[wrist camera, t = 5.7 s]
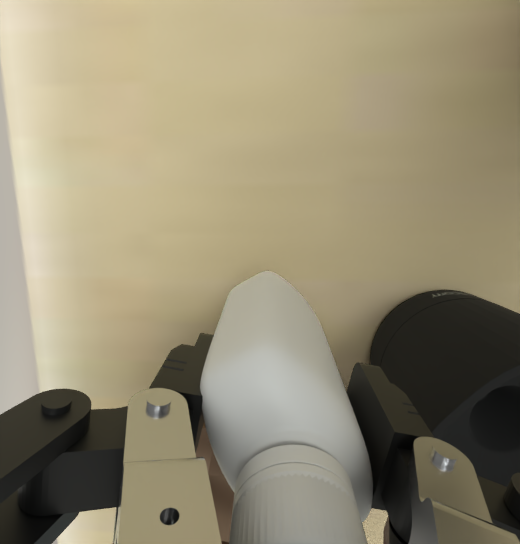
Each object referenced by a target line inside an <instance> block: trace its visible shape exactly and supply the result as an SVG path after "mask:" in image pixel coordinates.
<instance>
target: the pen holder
mask: <svg viewBox="0 0 520 544" xmlns="http://www.w3.org/2000/svg"><path fill="white" fill-rule="evenodd" d="M370 362H371V365H373V366H379V367H380V368H381V369H382V371H383V372H384V374H385V375H386V377H387V379H388V380H389V382H390V383H391V384H395V385H396V386H397V387H398V388H399V389H401V390H402V391H403V392H404V393H405V394H406V395H407V396H408V398H409V399H410V401H411V402H412V404H413V406H414V407H415V409H416V410H417V412H418V415H420V416H421V418H422V419H423V421H424V422H425V424H426V425H427V427H428V428H429V430H430V431H431V433H432V434H433V436H434V437H435V438H436V439H439V440H442V441H444V442H446V443H448V444H450V445H452V446H453V447H455V448H456V449H458V450H459V451H461V452H462V453H463V454H464V455H465V456H466V457H467V458H468V459H469V460H470V462H471V463H472V465H473V467H474V469H475V472H476V475H478V476H480V477H483V478H485V479H488V480H490V481H493V482H496V483H498V484H501V485H503V486H506V487H508V484H509V482H510V480H511V477H512V476H513V474H515V473H520V314H519V313H516V312H514V311H511V310H509V309H507V308H504V307H502V306H500V305H497V304H495V303H492V302H489V301H487V300H484V299H482V298H479V297H476V296H474V295H471V294H467V293H464V292H460V291H453V290H438V291H431V292H427V293H423V294H420V295H417V296H415V297H413V298H411V299H409V300H407V301H405V302H404V303H402V304H401V305H399V306H398V307H397V308H395V309H394V310H393V311H392V312H391V313H390V314H389V315H388V316H387V317H386V318H385V320H384V321H383V322H382V324H381V325H380V327H379V329H378V331H377V333H376V335H375V337H374V340H373V343H372V348H371V355H370Z"/></svg>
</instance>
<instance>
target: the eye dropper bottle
mask: <svg viewBox="0 0 520 544" xmlns="http://www.w3.org/2000/svg"><path fill="white" fill-rule="evenodd" d="M200 391H201V394H202V396H203V402H202V412H203V417H204V422H205V426H206V431H207V434H208V438H209V441H210V444H211V447H212V450H213V452H214V455H215V458H216V460H217V462H218V464H219V466H220V469H221V471H222V473H223V475H224V477H225V478H226V480H227V482H228V484H229V485H230V487H231V488H232V490H233V492H234V502H233V511H232V521H231V530H230V539H229V544H368V543H367V539H366V536H365V532H364V529H363V525H362V522H363V521H364V520H365V519H366V518H367V517H368V514H369V512H370V510H371V506H372V499H373V478H372V469H371V464H370V459H369V455H368V452H367V448H366V445H365V442H364V439H363V436H362V433H361V430H360V427H359V425H358V422H357V419H356V416H355V414H354V411H353V408H352V406H351V403H350V400H349V398H348V395H347V392H346V389H345V387H344V384H343V381H342V379H341V376H340V373H339V371H338V368H337V365H336V363H335V360H334V357H333V355H332V352H331V349H330V347H329V344H328V341H327V339H326V336H325V333H324V331H323V328H322V326H321V324H320V322H319V320H318V318H317V316H316V314H315V312H314V311H313V309H312V308H311V306H310V305H309V303H308V302H307V301H306V299H305V298H304V297H303V296H302V295H301V294H300V293H299V291H298V290H297V289H296V288H294V287H293V286H292V285H291V284H290V283H289V282H288V281H286V280H285V279H284V278H283V277H281V276H280V275H278V274H277V273H275V272H272V271H264V272H260V273H258V274H256V275H254V276H253V277H251V278H249V279H247V280H245V281H244V282H242V283H240V284H238V285H237V286H235V287H234V288H233V289H232V290H231V291H230V292H229V295H228V297H227V300H226V303H225V306H224V308H223V311H222V314H221V317H220V319H219V322H218V325H217V328H216V331H215V334H214V336H213V339H212V342H211V345H210V348H209V351H208V354H207V358H206V361H205V364H204V368H203V372H202V376H201V382H200Z"/></svg>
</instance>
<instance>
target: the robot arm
mask: <svg viewBox="0 0 520 544" xmlns="http://www.w3.org/2000/svg"><path fill="white" fill-rule="evenodd" d="M213 336H214V335H209V334H204V333H200V335H199V337H198V340H197V342H196V344H195V346H189V345H184V344H181V345H179V346H178V347H176V348H174V349H172V350H171V352H170V353H169V355H168V357H167V358H166V360H165V362H164V364H163V365H162V367H161V369H160V370H159V372H158V374H157V376H156V377H155V379H154V381H153V382H152V384H151V386H150V388H149V389H146V390H143V391H140V392H138V393H136V394H135V395H134V396H133V397H132V398H131V399H130V401H129V403H128V406H126V407H122V408H116V409H96V410H91V400H90V398H89V397H88V396H87V395H86V394H84V393H82V392H80V391H77V390H72V389H54V390H49V391H45V392H42V393H39V394H36V395H35V396H33V397H31V398H29V399H27V400H26V401H24V402H22V403H20V404H18V405H17V406H15V407H13V408H11V409H10V410H8V411H6V412H4V413H3V414H1V415H0V544H52V543H53V541H55V539H56V538H57V537H58V536H59V535H60V534H61V533H62V532H63V531H64V530H65V529H66V528H67V527H68V526H69V524H70V523H71V522H72V521H73V520H74V519H75V518H76V517H77V515H78V514H79V512H81V511H89V510H97V509H104V508H112V507H116V515H115V526H114V537H113V544H222V543H221V537H220V532H219V527H218V522H217V517H216V511H215V506H214V501H213V496H212V491H211V485H210V480H209V475H208V470H207V465H206V461H205V459H204V458H203V457H196V450H197V446H198V443H199V439H200V435H201V431H202V428H203V424H204V417H203V412H202V402H203V396H202V394H201V391H200V382H201V376H202V372H203V368H204V364H205V361H206V358H207V354H208V351H209V348H210V345H211V342H212V339H213ZM347 395H348V398H349V400H350V403H351V406H352V408H353V411H354V414H355V416H356V419H357V422H358V425H359V427H360V430H361V433H362V436H363V439H364V442H365V445H366V448H367V452H368V455H369V459H370V464H371V469H372V478H373V499H372V506H371V508H375V509H380V510H386V511H387V513H388V515H389V516H388V518H387V521H386V524H385V527H384V544H520V473H515V474H513V476H512V477H511V480H510V482H509V484H508V487H506V486H503V485H501V484H498V483H496V482H493V481H490V480H488V479H485V478H483V477H480V476H478V475H476V472H475V469H474V467H473V465H472V463H471V462H470V460H469V459H468V458H467V457H466V456H465V455H464V454H463V453H462V452H461V451H459V450H458V449H456V448H455V447H453V446H452V445H450V444H448V443H446V442H444V441H442V440H439V439H436V438H435V437H434V436H433V434H432V433H431V431H430V430H429V428H428V427H427V425H426V424H425V422H424V421H423V419H422V418H421V416H420V415H418V412H417V410H416V409H415V407H414V406H413V404H412V402H411V401H410V399H409V398H408V396H407V395H406V394H405V393H404V392H403V391H402V390H401V389H399V388H398V387H397V386H396V385H395V384H391V383H390V382H389V380H388V379H387V377H386V375H385V374H384V372H383V371H382V369H381V368H380V367H379V366H373V365H368V364H363V363H356V364H355V366H354V368H353V372H352V375H351V379H350V382H349V386H348V389H347Z"/></svg>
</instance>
